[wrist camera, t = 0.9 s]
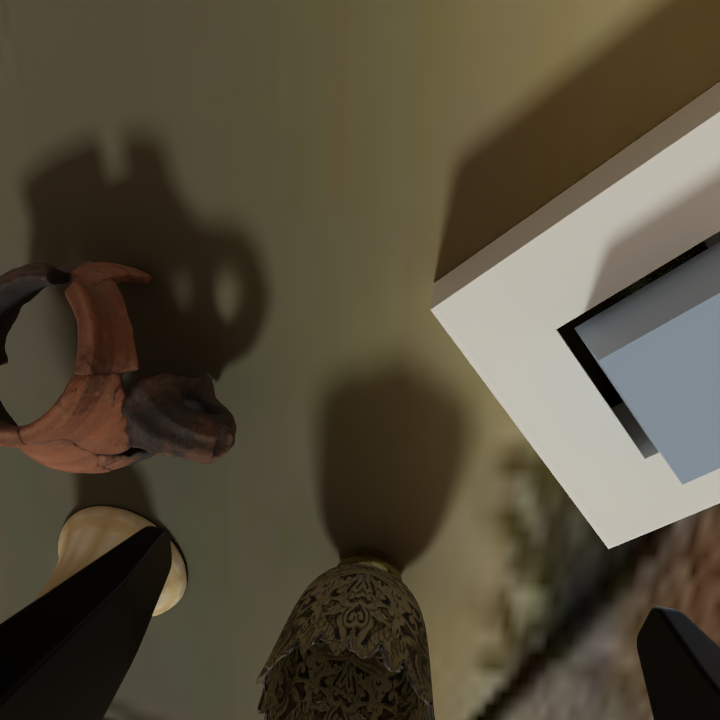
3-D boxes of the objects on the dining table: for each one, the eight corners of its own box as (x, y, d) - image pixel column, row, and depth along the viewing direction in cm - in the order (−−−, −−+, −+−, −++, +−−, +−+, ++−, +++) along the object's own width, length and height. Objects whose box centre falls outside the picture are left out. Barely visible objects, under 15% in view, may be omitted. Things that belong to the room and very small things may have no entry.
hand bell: (54, 578, 32) (-280, 932, 17) (70, 483, 28) (-328, 822, 14) (172, 629, 32) (-63, 1028, 17) (202, 540, 28) (-58, 941, 14)
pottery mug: (76, 433, 28) (-97, 433, 20) (131, 275, 28) (-18, 214, 20) (253, 515, 24) (123, 554, 16) (314, 328, 24) (216, 278, 16)
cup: (312, 501, 26) (258, 634, 19) (451, 532, 25) (452, 683, 18) (299, 602, 29) (248, 752, 22) (423, 633, 28) (415, 798, 21)
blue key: (795, 362, 16) (867, 404, 13) (646, 435, 18) (682, 484, 15) (724, 238, 15) (785, 256, 12) (574, 328, 17) (598, 360, 14)
